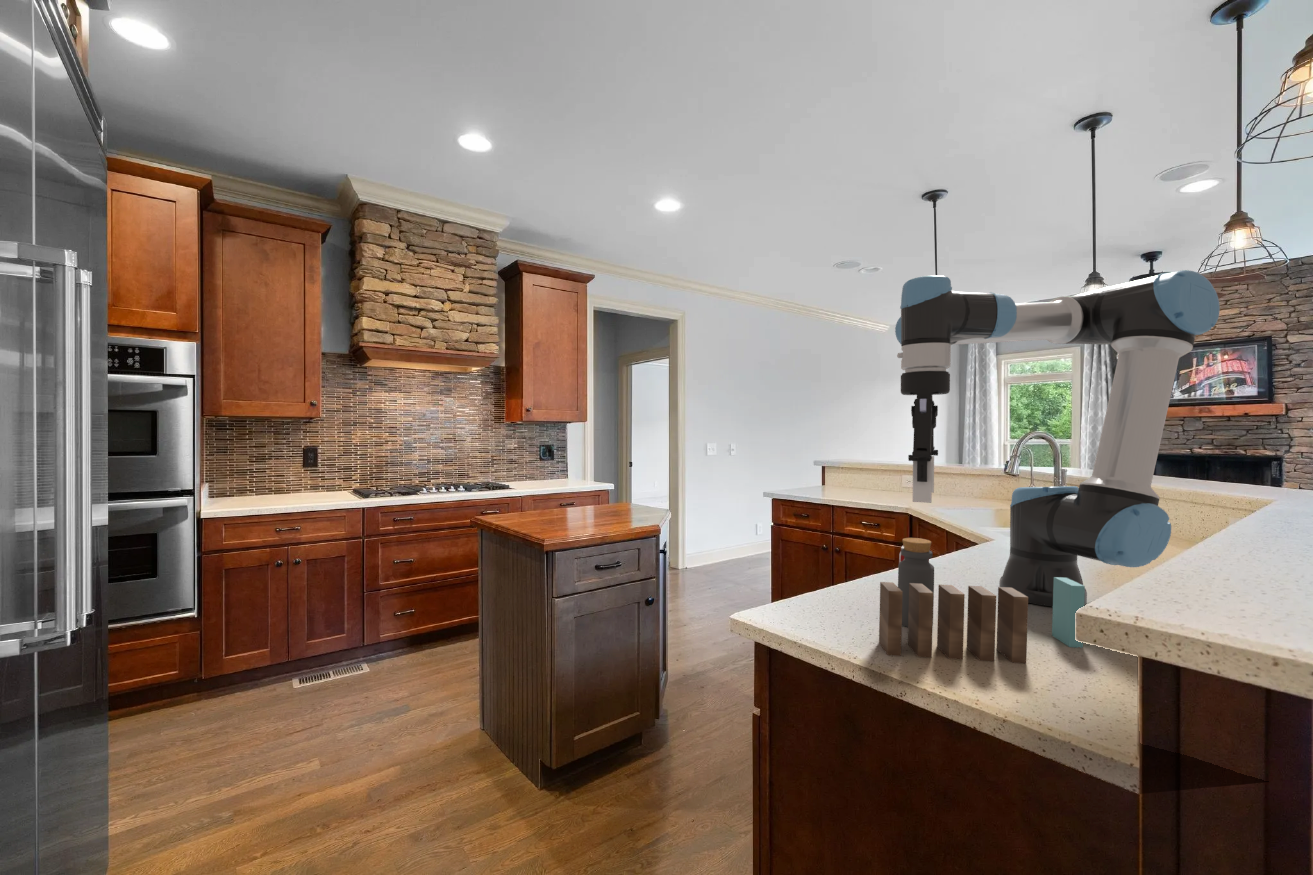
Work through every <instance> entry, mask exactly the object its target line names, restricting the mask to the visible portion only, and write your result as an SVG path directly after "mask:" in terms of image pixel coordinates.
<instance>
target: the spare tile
mask: <svg viewBox="0 0 1313 875" xmlns="http://www.w3.org/2000/svg"><path fill="white" fill-rule="evenodd" d="M1085 589H1086V586H1085V585H1084V584H1083V585H1081V584H1079V583H1077V582H1075V581H1073V580H1070V579H1068V578H1063V577H1054V585H1053V607H1052V619H1051V622H1052V623H1051V624H1052V625H1051V627H1052V628H1051V636H1052V637H1053V638H1055V639H1057V640H1058V641H1060V642H1061V643H1063V644H1064V645H1065V646H1067V647H1068V648H1078V647H1080V648H1079V649H1082V648H1083V647H1084V646H1083V645H1084V642H1083V643H1081V642H1078V641H1076V640H1075V613H1076V611H1077V610H1078V609H1079V608H1081V607H1083V606H1084V607H1085V605H1084V597H1085Z"/></svg>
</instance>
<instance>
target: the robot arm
mask: <svg viewBox="0 0 1313 875" xmlns="http://www.w3.org/2000/svg"><path fill="white" fill-rule="evenodd" d="M951 282H952V281H951V278H949V277H948V276H945V275H935V274H933V275H922V276H918V277H917V276H916V277H914V278H911V279H909V280H907V281H906V282H904V284H903V286H902V287H901V288H902V291H901V297H900V299H901V300H900V301H901V302H900V308H899V309H900V317H899V318H898V319H897V322H896V323H895V328H894V329H895V330H894V332H895V333H894V334H895V337H896V339H897V341H898V343H899V344H900V346H901V349H900V350H901V352H898V353H897V355H896V356H897V358H898V359H901V360H900V362H901V363H900V369H901V370H902V371H904V372H903V373H902V374H900V393H901V395H903V396H916V398H914V401H913V405H911V406H910V407H911V408H910V412H911V413H910V414H911V417H912V419H911V420H912V421H911V424H912V429H913V445H912V446H913V447H912V448H913V450H912V452H911V454H908V456H907V458H908V459H907V460H908V461H909V462H912V502H913V503H927V504H932V494H933V493H935V492H934V491H935V456H939V450H938V449H935V443H934V438H935V436H934V429H935V428H936V427H937V417H938V411H939V406H938V405H935V401H934V400H933V396H935V395H948V394H949V393H950V391H951V374H950V372H949V371H947V369H950V368H951V353H952V352H951V349H952V348H951V346H952V345H953V346H955V345H970V344H971V345H972V344H973V345H975V344H976V345H977V344H991V343H1009V342H1011V343H1012V342H1028V341H1029V342H1031V341H1048V342H1049V343H1051V344H1055V345H1065V344H1066V345H1067V344H1071V345H1072V344H1073V345H1100V346H1101V345H1103V346H1104V345H1110V346H1111V348H1112V349H1114V351H1115V352H1116V353H1117V355H1118V358H1117V362H1116V365H1115V366H1116V367H1115V371H1114V375H1113V380H1112V383H1111V388H1110V389H1111V390H1110V394H1109V399H1108V402H1107V406H1106V411H1105V415H1104V416H1105V417H1104V420H1103V424H1102V429H1101V433H1100V438H1099V442H1098V448H1097V452H1096V454H1095V459H1094V460H1095V461H1094V465H1093V468H1092V469H1093V470H1092V474H1091V476H1090V477H1089V478H1086V479H1085V480H1084V481H1082V482H1080V483H1079V486H1075V485H1074V486H1072V485H1071V486H1070V485H1069V486H1023V487H1022V486H1020V487H1016V488H1015V489H1014V490H1013V491H1012V494H1011V503H1010V506H1009V508H1010V514H1009V516H1010V519H1009V520H1010V522H1009V523H1010V524H1009V525H1010V527H1009V530H1010V531H1009V540H1010V541H1009V557H1008V560H1007V562H1006V565H1005V567H1004V569H1003V570H1004V571H1003V573H1002V575H1001V577H1000V579H999V585H998V587H1010V588H1013V589H1015V590H1017V591H1018V592H1020V593H1022V594H1024V595H1025V596H1027V597H1028V604H1033V605H1038V606H1044V607H1045V606H1047V607H1052V608H1053V585H1054V577H1063V578H1068V579H1070V580H1073V581H1075V582H1077V583H1079V584H1081V585H1084V582H1083V577H1082V574H1081V572H1080V571H1081V570H1080V568H1079V565H1078V556H1079V557H1082V558H1085V559H1090V560H1094V561H1098V562H1102V563H1104V564H1107V565H1111V566H1120V567H1125V568H1140V567H1144V566H1147V565H1148V564H1150V563H1152V562H1153V561H1155V560H1157V559H1158V558H1159V557H1160V556H1161V555H1162V554H1163V552H1164V551H1165V549H1167V546H1168V545H1169V541H1170V540H1171V534H1172V524H1171V522H1169V520H1170V517H1169V513H1167V512H1166V511H1165V509H1163V508H1161V507H1160V506H1159V503H1160V496H1159V495H1158V494H1157V493H1156V491H1155V490H1154V489H1153V487H1152V483H1153V479H1154V478H1153V477H1154V473H1155V469H1156V464H1157V459H1158V456H1159V452H1160V451H1159V450H1160V446H1161V442H1162V439H1163V438H1162V437H1163V433H1164V428H1165V423H1166V420H1167V419H1166V418H1167V414H1168V409H1169V405H1170V401H1171V396H1172V391H1173V387H1174V382H1175V378H1176V374H1177V370H1178V369H1177V368H1178V365H1179V360H1180V358H1181V357H1183V356H1185V355H1187V354H1188V353H1190V352H1191V351H1192V350H1193V349H1194V345H1195V340H1196V336H1199V335H1203V334H1204V333H1207V332H1209V331H1211V330H1212V328H1214V327H1215V325H1216V324H1217V322H1218V320H1219V317H1220V311H1221V310H1220V309H1221V308H1220V300H1219V296H1218V292H1217V291H1216V290H1215V288H1214V286H1213V284H1212V283H1211V281H1209V279H1208V278H1207V277H1205V276H1204V275H1203V274H1201V273H1199V272H1197V271H1193V270H1189V269H1187V270H1186V269H1185V270H1183V269H1182V270H1178V271H1172V272H1162V273H1159V274H1156V275H1154V276H1149V277H1145V278H1141V279H1136V280H1133V281H1129V282H1123V283H1118V284H1114V285H1113V284H1112V285H1109V286H1105V287H1102V288H1098V289H1095V290H1091V291H1087V292H1083V293H1079V294H1078V293H1077V294H1075V295H1067V296H1066V295H1065V296H1057V297H1055V298H1053V299H1051V300H1050V301H1048V302H1020V303H1016V302H1015V300H1014V299H1013V298H1012V297H1011V296H1009V295H1007V294H1002V293H995V292H992V291H990V292H972V291H971V292H968V291H955V290H953V286H952V283H951ZM1085 604H1086V605H1087V604H1088V592H1087V589H1086V588H1085V597H1084V606H1086V605H1085Z"/></svg>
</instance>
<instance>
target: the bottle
mask: <svg viewBox="0 0 1313 875" xmlns="http://www.w3.org/2000/svg"><path fill="white" fill-rule="evenodd" d="M902 544H903V545H902V546H904V548H900V551H901V555H903V556H904V560H903V561H901V562H900V563H899V562H898V569H897V571H898V572H897V573H898V574H897V578H898V579H897V587H898V588H899V589H900V590H901V591H902V592H903V593H902V627H905V628H908V614H909V583H917V584H923V585H924V586H926V587H927V588H928V589H929V590H930V591H932V592H933V608H934V605H935V604H934V602H935V601H934V599H935V594H934V593H935V567H934V565H933V564H932V563H930V559H932V558H933V551H932V550H931V546H932V541H931V540H929V539H925V538H921V537H920V538H918V537H905V538H902ZM933 627H934V626H932V628H933Z"/></svg>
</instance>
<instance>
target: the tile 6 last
mask: <svg viewBox="0 0 1313 875" xmlns="http://www.w3.org/2000/svg"><path fill="white" fill-rule="evenodd" d="M879 583H880V584H879V620H878V621H879V622H878V623H879V630H878V644H879V645H880V646H881V648H882V650H884V652H885V654H886V655H887V656H891V657H892V656H895V657H901V656H902V635H903V634H902V632H903V629H902V628H903V625H902V593H903V592H902V591H901V590H900V589H899V588H898V585H896V584H895V583H894V582H893V581H892V582H889V581H880V582H879Z"/></svg>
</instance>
